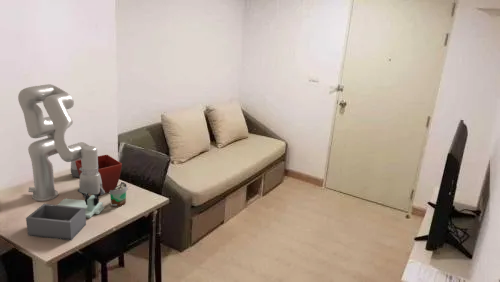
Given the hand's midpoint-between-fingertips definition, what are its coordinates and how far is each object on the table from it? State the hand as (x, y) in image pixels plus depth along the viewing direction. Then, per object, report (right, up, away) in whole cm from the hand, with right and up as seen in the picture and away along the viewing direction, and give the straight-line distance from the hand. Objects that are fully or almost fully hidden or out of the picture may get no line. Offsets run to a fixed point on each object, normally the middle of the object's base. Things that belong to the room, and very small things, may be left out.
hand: (92, 203), depth 200 cm
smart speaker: (-25, +11, +42) cm, 49 cm away
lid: (-7, -4, +2) cm, 8 cm away
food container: (+11, -2, +11) cm, 16 cm away
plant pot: (-6, +4, +25) cm, 26 cm away
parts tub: (-9, -9, -17) cm, 22 cm away
